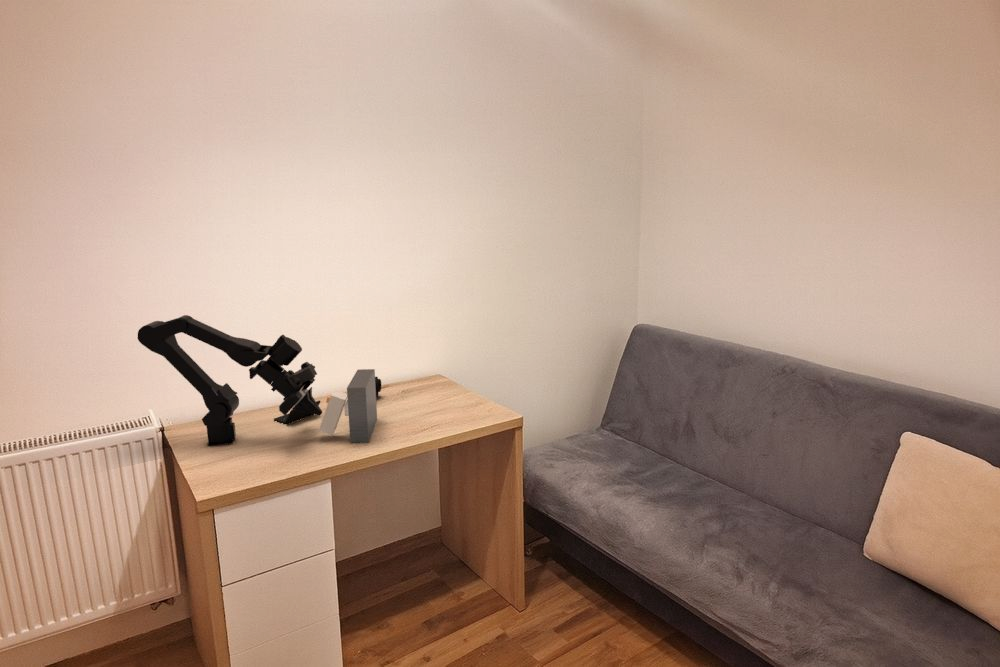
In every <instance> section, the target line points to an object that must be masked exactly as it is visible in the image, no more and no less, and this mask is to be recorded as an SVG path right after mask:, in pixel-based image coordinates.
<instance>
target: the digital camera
mask: <svg viewBox="0 0 1000 667" xmlns="http://www.w3.org/2000/svg"><path fill="white" fill-rule="evenodd" d="M375 387H376V398H377V399H378V398H379V396H378V395H379V393H381V391H382V380H381V378H378V376H375Z"/></svg>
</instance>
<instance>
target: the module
mask: <svg viewBox="0 0 1000 667" xmlns="http://www.w3.org/2000/svg"><path fill="white" fill-rule="evenodd" d="M347 400H348V397H347V393H345V392H343V391H340V390H338V389H337V390H336V389H334V390H333V391H332V393H331V394H329V395H328V396H327V398H326V401H325V403H326V404H327V405H326V408H325V410H324V414H323V416H322V419H321V422H320V425H319V428H318V430H317V431H318V432H321V433H323V434H325V435H326V434H327V435H329V436H333V435H334V433H335V431H336V429H337V427H338V423H339V421H340V418H341V415H342V412H343V410H344V405H345V403H346V402H347Z"/></svg>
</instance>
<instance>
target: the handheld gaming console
mask: <svg viewBox="0 0 1000 667" xmlns="http://www.w3.org/2000/svg"><path fill="white" fill-rule="evenodd" d="M315 401H316V400H315ZM316 403H317V404H318V406H319V405H320V404H321V403H322V402H321V400H317V401H316ZM319 407H320V406H319ZM311 415H312V416H314V414H312V413H308V412H304V411H300V410H295V409H294V410H293V409H291V410H290V411H289V412H288V413H287V414H286V415H284V414H282V415H280V416H277V417H274V418H273V422H275V421H277V422H276V423H278V422H280V423H279V424H281V423H283V424H282V425H285V424H287V425H290V424H292V422H293V423H295V422H294V421H296V422H298V421H301V420H304V419H306V418H309V417H312V416H311ZM308 416H309V417H308ZM305 417H306V418H305ZM303 418H304V419H303ZM300 419H301V420H300ZM297 420H298V421H297ZM289 423H290V424H289Z"/></svg>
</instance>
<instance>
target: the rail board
mask: <svg viewBox="0 0 1000 667" xmlns="http://www.w3.org/2000/svg"><path fill="white" fill-rule="evenodd" d="M375 370H376V369H374V368H372V369H371V368H370V369H369V368H368V369H367V368H366V369H365V368H363V369H362V368H361V369H357V370H356V371H355V373H354V375H353V377H352V379H351V380H350V382H349V384H348V386H346V392H347V393H346V394H347V399H346V402H345V405H344V407H343V410H344V416H345V417H348V425H349V428H348V429H349V442H350V443H349V444H369V443H370V441H371V438H372V436H373V433H374V430H375V427H376V425H375V424H377V422H378V410H377V409H378V407H377V399H376V387H375V377H376V371H375Z"/></svg>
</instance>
